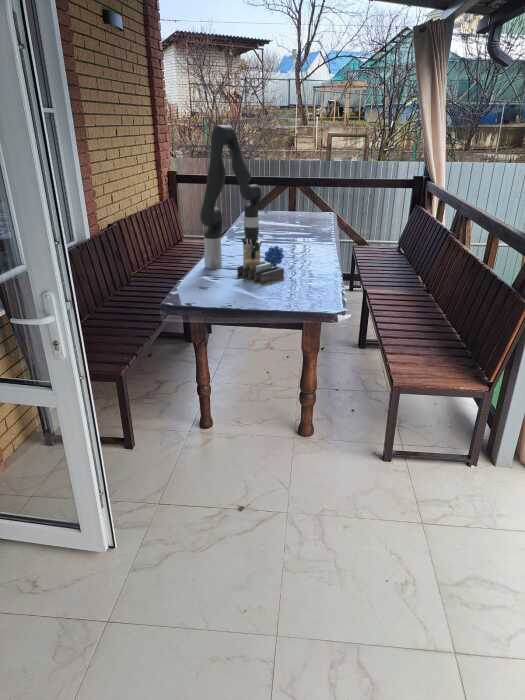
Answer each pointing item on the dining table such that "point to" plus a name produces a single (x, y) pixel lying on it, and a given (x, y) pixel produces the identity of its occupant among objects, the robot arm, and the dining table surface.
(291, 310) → the dining table surface
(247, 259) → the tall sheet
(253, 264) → the offcut oak
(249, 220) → the robot arm
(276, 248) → the grapes
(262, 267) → the offcut grey
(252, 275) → the rack
